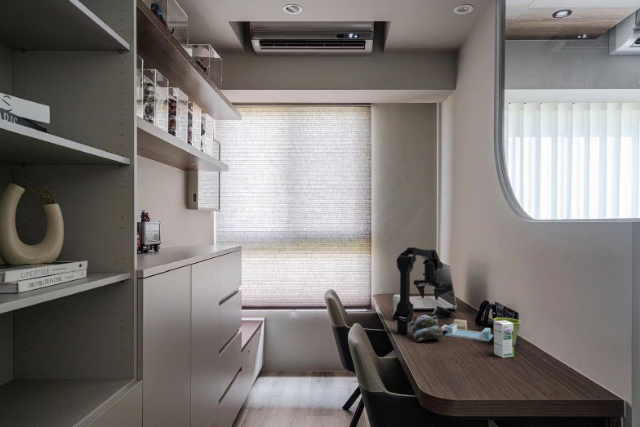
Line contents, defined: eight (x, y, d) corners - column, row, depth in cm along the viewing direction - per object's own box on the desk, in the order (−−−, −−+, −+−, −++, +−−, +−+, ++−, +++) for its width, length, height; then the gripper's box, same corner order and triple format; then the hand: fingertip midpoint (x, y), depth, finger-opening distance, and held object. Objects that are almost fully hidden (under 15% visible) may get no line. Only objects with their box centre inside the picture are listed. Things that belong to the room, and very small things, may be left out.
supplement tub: (413, 320, 245) (413, 295, 245) (403, 323, 239) (403, 297, 239) (399, 318, 252) (399, 293, 252) (389, 320, 246) (389, 295, 246)
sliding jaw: (452, 334, 213) (452, 327, 213) (440, 333, 216) (440, 326, 216) (456, 330, 221) (456, 324, 221) (445, 329, 224) (444, 322, 224)
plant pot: (524, 348, 192) (523, 323, 192) (496, 347, 194) (496, 322, 194) (517, 341, 203) (517, 318, 204) (491, 340, 206) (491, 316, 206)
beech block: (465, 331, 222) (465, 321, 222) (453, 329, 225) (453, 320, 225) (466, 329, 226) (466, 320, 226) (455, 328, 229) (455, 319, 229)
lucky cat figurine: (410, 342, 201) (404, 313, 207) (416, 346, 210) (410, 319, 217) (441, 336, 196) (434, 307, 203) (446, 340, 206) (439, 312, 212)
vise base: (489, 341, 203) (489, 333, 203) (445, 335, 214) (445, 327, 214) (493, 335, 213) (493, 327, 213) (450, 330, 224) (450, 322, 224)
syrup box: (502, 358, 178) (502, 323, 179) (493, 353, 184) (493, 320, 184) (514, 357, 180) (514, 322, 180) (504, 352, 186) (504, 319, 186)
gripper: (452, 272, 236) (452, 300, 236) (425, 269, 251) (425, 295, 250) (440, 273, 229) (440, 302, 229) (413, 270, 244) (413, 297, 244)
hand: (429, 299), depth 238 cm, fingers open, 9 cm apart
